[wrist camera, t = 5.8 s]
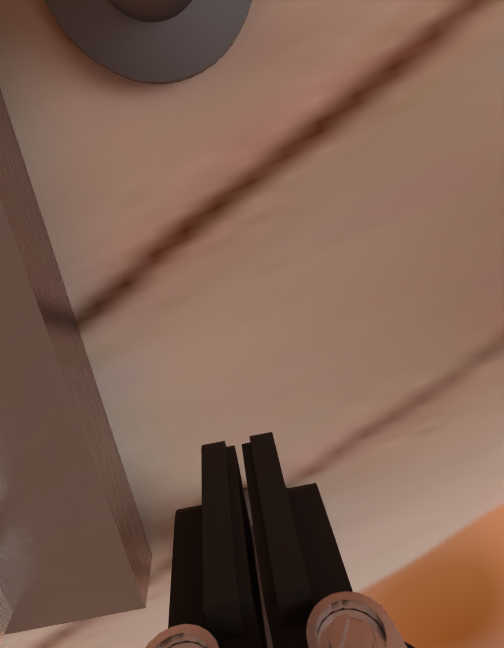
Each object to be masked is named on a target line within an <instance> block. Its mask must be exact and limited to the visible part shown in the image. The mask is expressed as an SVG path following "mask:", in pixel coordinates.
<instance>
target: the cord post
mask: <svg viewBox="0 0 504 648" xmlns="http://www.w3.org/2000/svg"><path fill="white" fill-rule="evenodd" d="M45 1H46V3H47V5H48V7H49V9H50V11H51V13H52V14H53V16H54V17H55V19H56V21H57V22H58V24H59V25H60V27H61V28H62V29H63V30H64V32H65V33H66V34H67V35H68V36H69V38H70V39H71V40H72V41H73V42H74V43H75V44H76V45H77V46H78V47H79V48H80V49H81V50H82V51H83V52H84V53H86V54H87V55H88V56H89V57H91V58H92V59H93V60H95V61H96V62H98V63H99V64H101V65H102V66H104V67H106V68H107V69H109V70H111V71H112V72H114V73H116V74H119V75H121V76H123V77H126V78H128V79H132V80H135V81H139V82H145V83H153V84H163V83H172V82H178V81H182V80H185V79H188V78H191V77H193V76H195V75H197V74H199V73H201V72H203V71H204V70H206V69H207V68H209V67H210V66H212V65H213V64H214V63H215V62H216V61H218V60H219V59H220V58H221V57H222V56H223V55H224V54H225V52H226V51H227V50H228V49H229V48H230V46H231V45H232V44H233V42H234V40H235V39H236V37H237V36H238V34H239V32H240V30H241V28H242V26H243V24H244V21H245V19H246V16H247V14H248V11H249V8H250V5H251V2H252V0H45Z"/></svg>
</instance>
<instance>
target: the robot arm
mask: <svg viewBox="0 0 504 648" xmlns="http://www.w3.org/2000/svg"><path fill="white" fill-rule="evenodd" d="M242 450H243V457H244V465H245V472H246V479H247V486H248V494H249V501H250V508H251V515H252V523H253V530H254V537H255V544H256V552H257V559H258V566H259V573H260V580H261V587H262V593H263V599H264V604H265V609H266V614H267V619H268V624H269V629H270V634H271V639H272V644H273V648H414V647H413V646H411V645H409V644H407V643H406V642H404V641H403V639H402V637H401V636H400V634H399V632H398V630H397V628H396V627H395V625H394V623H393V622H392V620H391V618H390V616H389V615H388V614H387V612H386V611H385V610H384V609H383V607H382V606H381V605H379V604H378V603H377V602H375V601H374V600H373V599H371V598H370V597H367V596H365V595H362V594H360V593H356V592H353V591H352V588H351V585H350V582H349V579H348V576H347V573H346V570H345V567H344V564H343V561H342V558H341V555H340V552H339V549H338V546H337V543H336V540H335V537H334V534H333V531H332V528H331V525H330V522H329V519H328V516H327V513H326V510H325V507H324V504H323V502H322V499H321V496H320V493H319V490H318V487H317V485H316V483H313V484H308V485H303V486H298V487H293V488H287V489H286V487H285V483H284V479H283V475H282V471H281V467H280V462H279V458H278V454H277V450H276V446H275V442H274V438H273V434H272V432H270V433H264V434H259V435H254V436H250V443H245V444H242ZM201 451H202V505H200V506H194V507H189V508H184V509H179V510H177V511H176V514H175V525H174V542H173V558H172V574H171V591H170V607H169V624H168V629H167V630H165V631H163V632H161V633H159V634H158V635H157V636H156V637H155V638H154V639H153V640H151V641H150V642H149V643H148V645H147V646H146V647H145V648H268V646H267V638H266V631H265V623H264V616H263V609H262V601H261V594H260V586H259V579H258V571H257V564H256V556H255V549H254V542H253V536H252V530H251V525H250V520H249V515H248V510H247V505H246V500H245V495H244V490H243V485H242V480H241V475H240V469H239V464H238V459H237V454H236V449H235V446H229V447H226V444H225V441H222V442H216V443H211V444H206V445H202V449H201Z"/></svg>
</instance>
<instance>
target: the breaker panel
mask: <svg viewBox="0 0 504 648" xmlns="http://www.w3.org/2000/svg"><path fill="white" fill-rule="evenodd" d="M151 560H152V555H151V552H150V548H149V545H148V542H147V539H146V536H145V533H144V530H143V527H142V524H141V521H140V518H139V515H138V512H137V508H136V505H135V502H134V499H133V496H132V493H131V490H130V487H129V484H128V481H127V478H126V475H125V472H124V468H123V465H122V462H121V459H120V456H119V453H118V450H117V447H116V444H115V441H114V438H113V435H112V432H111V429H110V425H109V422H108V419H107V416H106V413H105V410H104V407H103V404H102V401H101V398H100V395H99V392H98V389H97V385H96V382H95V379H94V376H93V373H92V370H91V367H90V364H89V361H88V358H87V355H86V352H85V349H84V346H83V342H82V339H81V336H80V333H79V330H78V327H77V324H76V321H75V318H74V315H73V312H72V309H71V306H70V302H69V299H68V296H67V293H66V290H65V287H64V284H63V281H62V278H61V275H60V272H59V269H58V266H57V262H56V259H55V256H54V253H53V250H52V247H51V244H50V241H49V238H48V235H47V232H46V229H45V226H44V223H43V219H42V216H41V213H40V210H39V207H38V204H37V201H36V198H35V195H34V192H33V189H32V186H31V183H30V179H29V176H28V173H27V170H26V167H25V164H24V161H23V158H22V155H21V152H20V149H19V146H18V143H17V139H16V136H15V133H14V130H13V127H12V124H11V121H10V118H9V115H8V112H7V109H6V106H5V103H4V100H3V96H2V93H1V90H0V644H1V641H2V639H3V636H4V635H5V634H10V633H16V632H21V631H26V630H31V629H37V628H42V627H47V626H52V625H58V624H63V623H68V622H73V621H79V620H84V619H89V618H94V617H100V616H105V615H110V614H115V613H121V612H126V611H131V610H136V609H142V608H146V600H147V592H148V584H149V576H150V568H151Z"/></svg>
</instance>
